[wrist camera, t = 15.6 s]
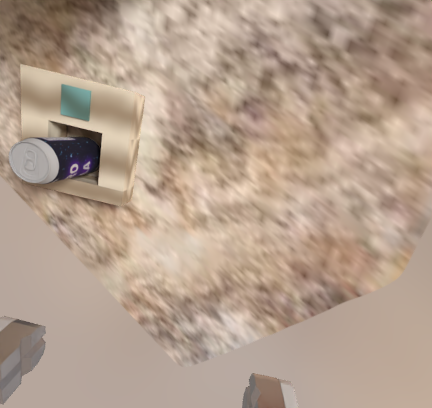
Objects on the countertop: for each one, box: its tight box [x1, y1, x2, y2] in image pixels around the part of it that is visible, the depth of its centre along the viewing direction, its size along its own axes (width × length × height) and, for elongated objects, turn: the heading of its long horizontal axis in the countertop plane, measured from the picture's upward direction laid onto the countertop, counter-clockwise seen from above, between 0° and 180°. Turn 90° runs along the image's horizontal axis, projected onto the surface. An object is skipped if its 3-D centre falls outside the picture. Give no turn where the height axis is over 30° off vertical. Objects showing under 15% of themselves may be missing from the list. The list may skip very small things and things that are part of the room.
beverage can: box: [9, 137, 101, 184], centre depth 32 cm, size 6×6×12 cm
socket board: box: [20, 64, 145, 206], centre depth 35 cm, size 17×16×4 cm
